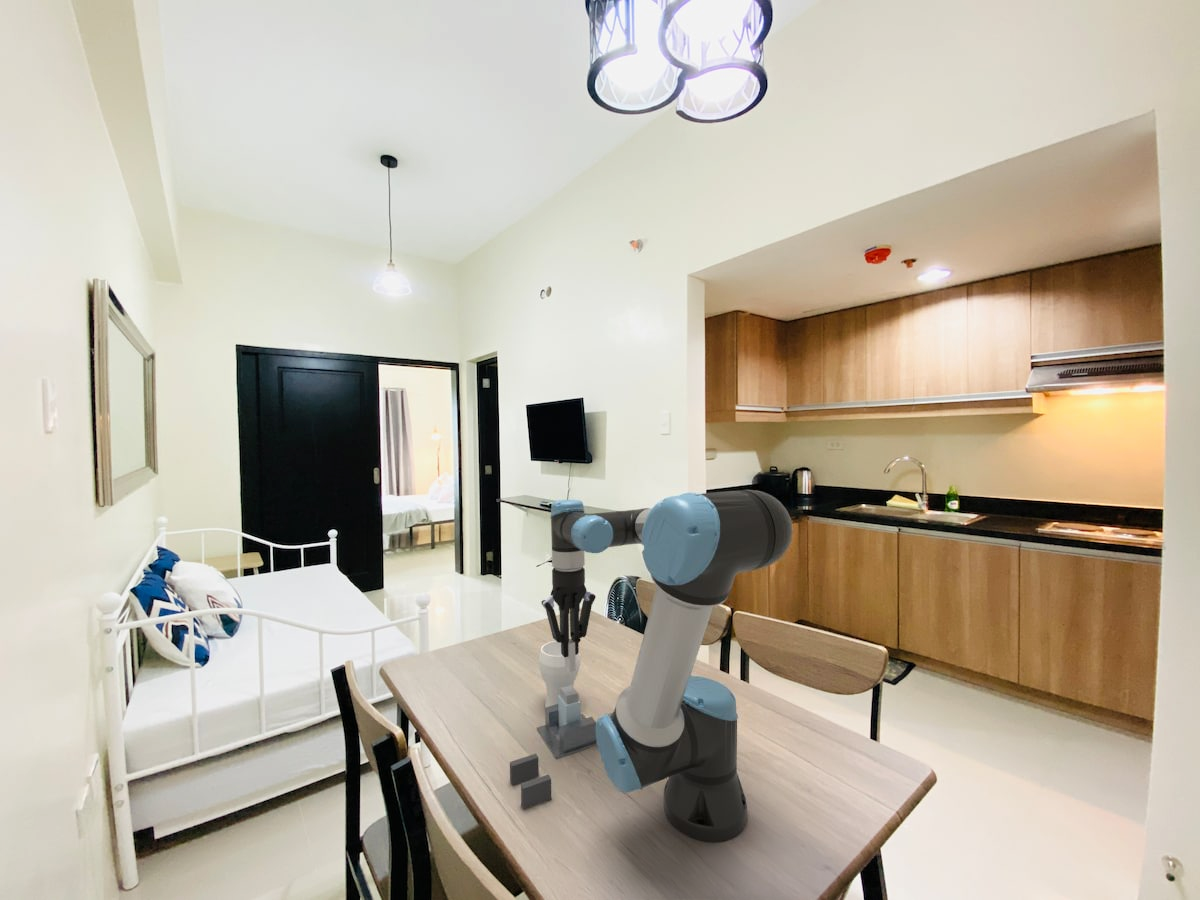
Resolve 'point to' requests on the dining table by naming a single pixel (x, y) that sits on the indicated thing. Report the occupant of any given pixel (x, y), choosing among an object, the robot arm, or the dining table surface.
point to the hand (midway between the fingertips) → (570, 669)
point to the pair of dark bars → (533, 789)
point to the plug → (568, 706)
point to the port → (567, 733)
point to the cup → (555, 671)
